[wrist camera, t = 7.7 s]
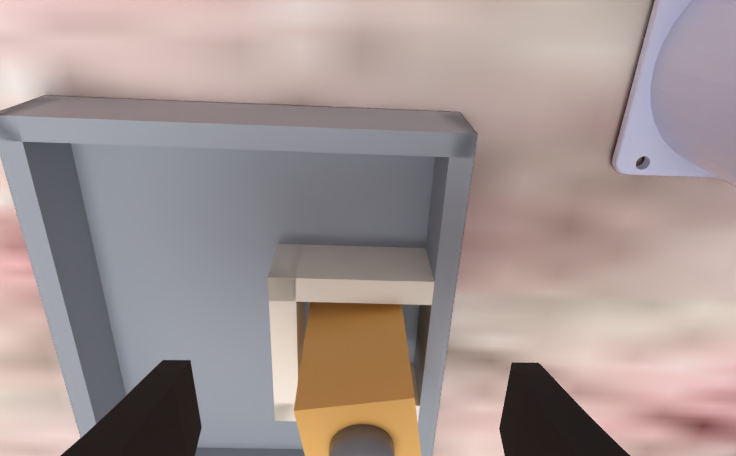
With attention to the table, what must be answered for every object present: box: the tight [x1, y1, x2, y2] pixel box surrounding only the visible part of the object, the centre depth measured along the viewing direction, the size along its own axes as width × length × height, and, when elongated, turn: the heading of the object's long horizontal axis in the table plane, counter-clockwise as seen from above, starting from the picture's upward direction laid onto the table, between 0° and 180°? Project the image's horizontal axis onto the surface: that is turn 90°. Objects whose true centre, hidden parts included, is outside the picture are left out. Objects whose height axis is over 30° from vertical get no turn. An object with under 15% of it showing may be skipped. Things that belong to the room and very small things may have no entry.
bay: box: [0, 95, 477, 456], centre depth 21 cm, size 15×18×3 cm
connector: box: [294, 302, 421, 456], centre depth 18 cm, size 4×4×8 cm
